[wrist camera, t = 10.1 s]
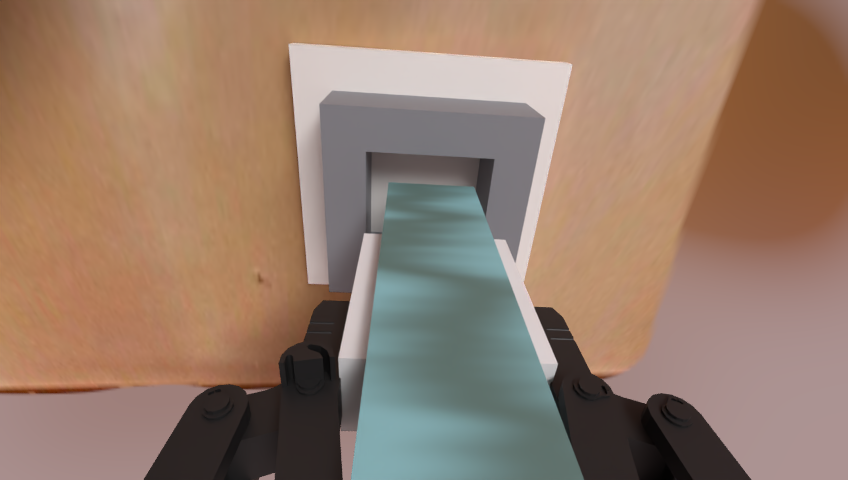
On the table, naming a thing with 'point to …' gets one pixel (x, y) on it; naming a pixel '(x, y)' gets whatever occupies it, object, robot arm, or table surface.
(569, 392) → the robot arm
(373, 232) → the socket block
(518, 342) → the peg
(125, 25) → the table surface
